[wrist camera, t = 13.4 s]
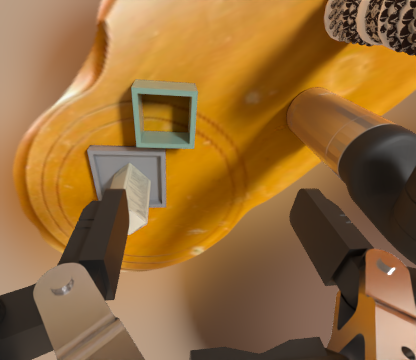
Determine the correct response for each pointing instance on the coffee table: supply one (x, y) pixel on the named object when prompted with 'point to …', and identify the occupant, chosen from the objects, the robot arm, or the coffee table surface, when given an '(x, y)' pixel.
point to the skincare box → (134, 194)
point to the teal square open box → (157, 137)
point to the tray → (140, 158)
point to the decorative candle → (373, 23)
